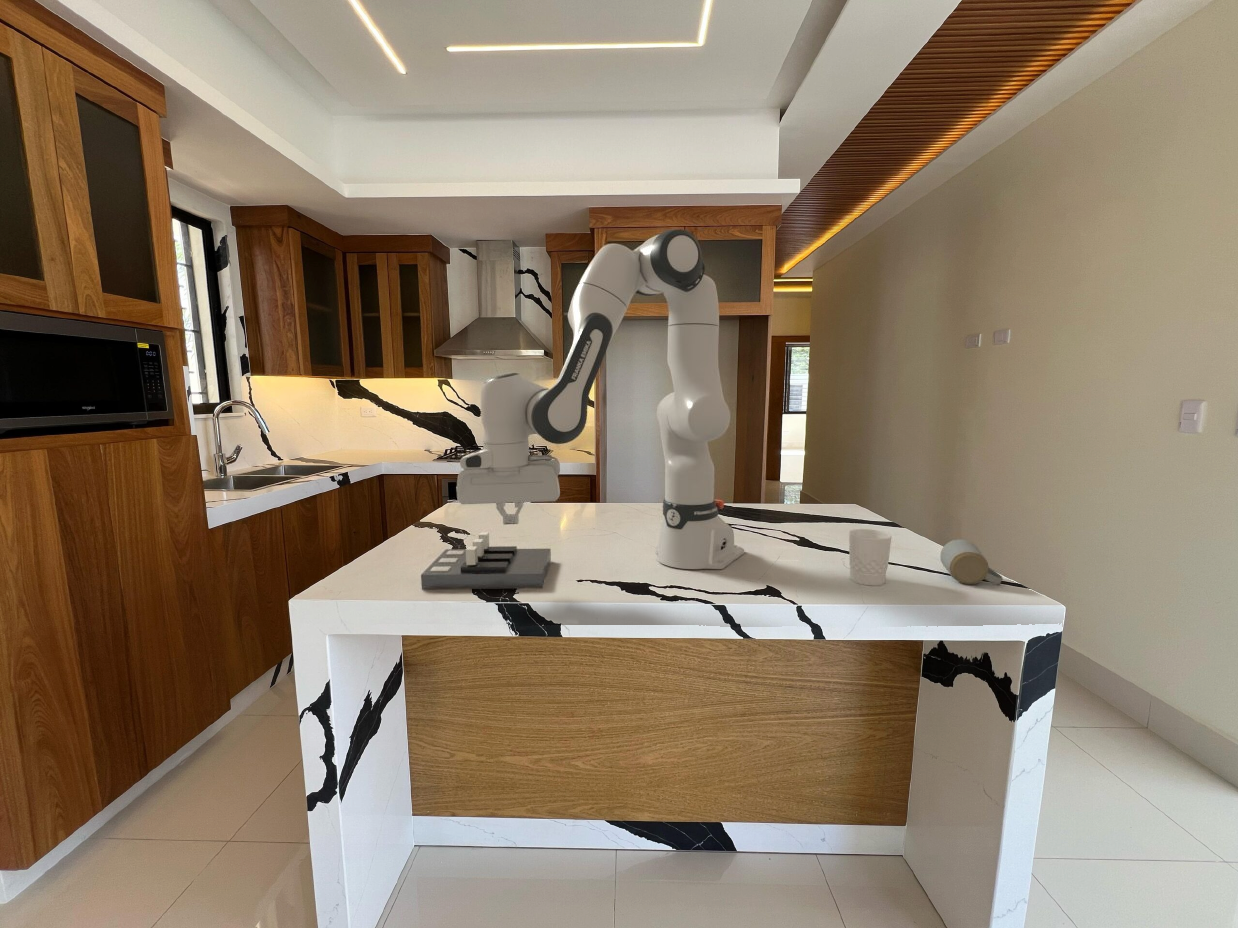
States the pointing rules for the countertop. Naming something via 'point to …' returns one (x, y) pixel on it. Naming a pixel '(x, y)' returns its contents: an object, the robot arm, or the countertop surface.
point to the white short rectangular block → (485, 539)
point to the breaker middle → (479, 546)
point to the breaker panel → (488, 569)
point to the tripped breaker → (471, 555)
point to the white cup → (869, 556)
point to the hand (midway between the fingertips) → (511, 523)
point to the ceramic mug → (967, 563)
